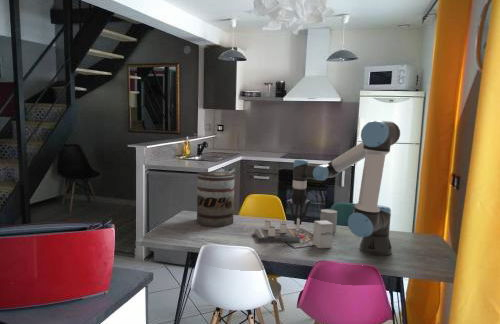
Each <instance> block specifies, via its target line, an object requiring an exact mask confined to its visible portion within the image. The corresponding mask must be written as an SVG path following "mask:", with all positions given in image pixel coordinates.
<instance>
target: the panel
mask: <svg viewBox="0 0 500 324" xmlns="http://www.w3.org/2000/svg"><path fill="white" fill-rule="evenodd" d="M254 236H255V237H256V239H257V242H258V243H299V242H300V243H301V237H300V235H299V234H298V233H297V231H296V230H294V229H293V228H287V233H280V228H275V236H268V230H265V229H264V228H263V229H261V228H259V229H258V228H257V229H255V228H254Z"/></svg>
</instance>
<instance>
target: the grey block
mask: <svg viewBox="0 0 500 324" xmlns="http://www.w3.org/2000/svg"><path fill="white" fill-rule="evenodd" d="M319 217H320V218H319V221H323V220H327V221H329V222H331V223H333V234H334V235H335V234H336V233H337V222H338V211H337V210H336V209H332V208H324V209H323V208H322V209H320V216H319Z"/></svg>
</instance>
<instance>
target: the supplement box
mask: <svg viewBox="0 0 500 324" xmlns="http://www.w3.org/2000/svg"><path fill="white" fill-rule="evenodd" d="M312 236H313V238H312V240H313V241H312V244H313V246H315V247H317V249H327V248H328V249H329V248H332V246H333V223H331V222H329V221H327V220H323V221H320V220H314V221H313V235H312Z"/></svg>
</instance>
